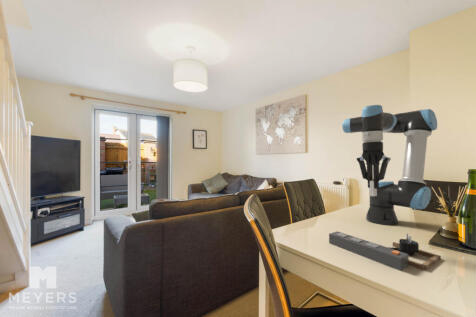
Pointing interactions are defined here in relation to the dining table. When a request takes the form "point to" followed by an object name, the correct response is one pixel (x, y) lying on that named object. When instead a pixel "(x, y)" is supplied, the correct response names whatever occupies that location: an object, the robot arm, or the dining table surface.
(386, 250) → the power strip
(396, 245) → the bay
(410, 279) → the dining table surface
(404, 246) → the power plug
